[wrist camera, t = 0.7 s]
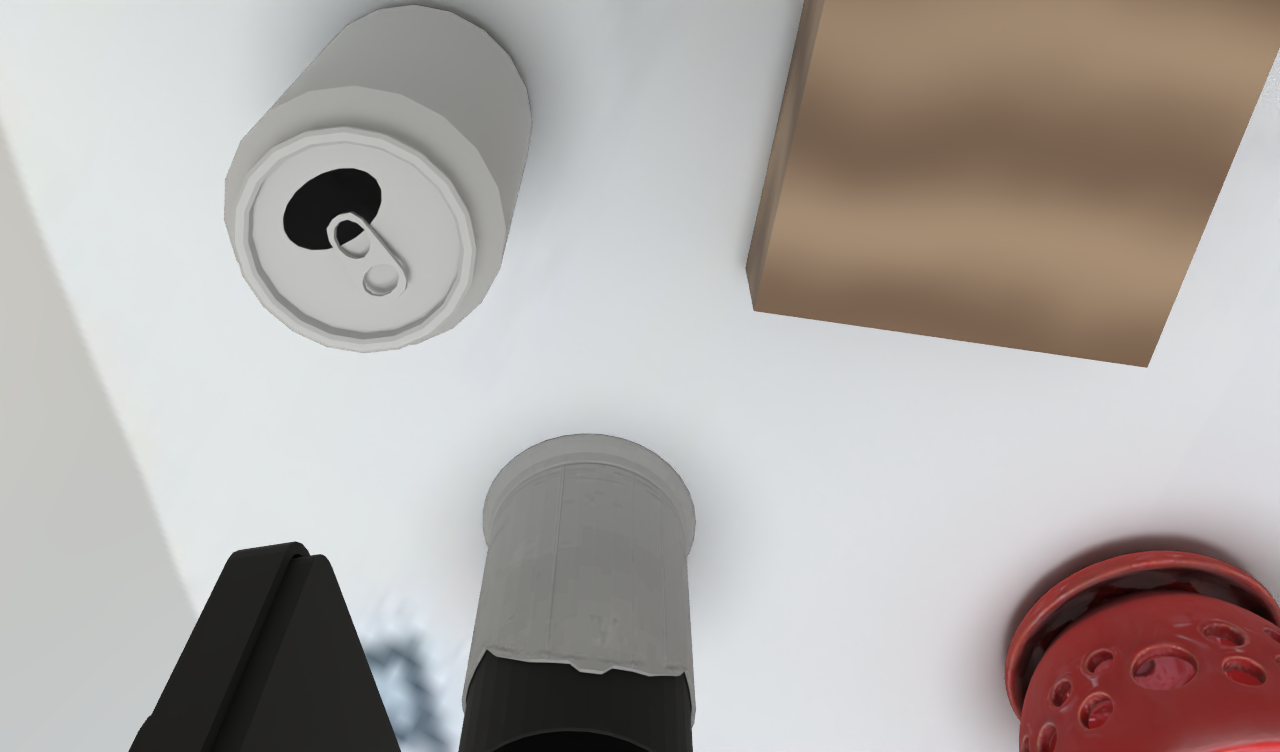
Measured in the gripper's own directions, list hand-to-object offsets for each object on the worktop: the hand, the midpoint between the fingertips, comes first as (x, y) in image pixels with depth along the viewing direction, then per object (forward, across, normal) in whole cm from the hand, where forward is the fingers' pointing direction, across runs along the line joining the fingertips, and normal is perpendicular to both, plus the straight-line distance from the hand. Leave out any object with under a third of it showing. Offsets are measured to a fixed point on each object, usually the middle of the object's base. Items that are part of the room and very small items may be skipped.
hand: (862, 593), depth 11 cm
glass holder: (+32, +9, +24) cm, 41 cm away
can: (+32, +10, +3) cm, 34 cm away
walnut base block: (+33, -9, +7) cm, 34 cm away
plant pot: (+33, -14, +32) cm, 48 cm away
